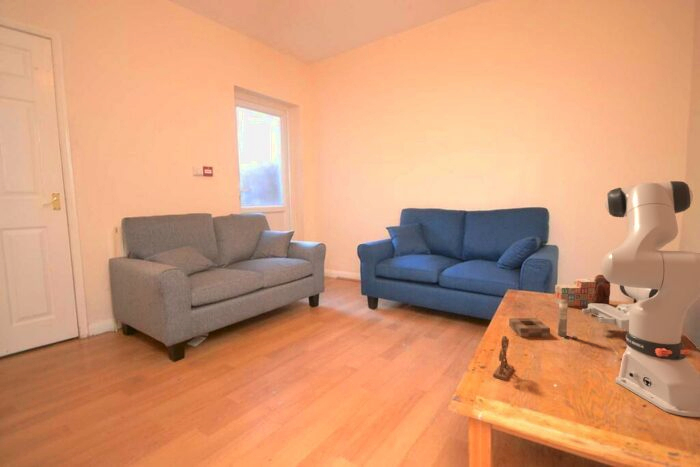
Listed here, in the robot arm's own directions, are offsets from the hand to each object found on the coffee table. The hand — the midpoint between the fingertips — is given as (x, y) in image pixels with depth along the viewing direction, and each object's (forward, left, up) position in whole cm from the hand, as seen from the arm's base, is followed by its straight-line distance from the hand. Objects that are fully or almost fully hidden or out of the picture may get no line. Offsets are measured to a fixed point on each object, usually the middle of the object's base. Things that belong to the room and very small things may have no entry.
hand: (590, 315), depth 129 cm
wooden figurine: (+24, -20, -8) cm, 32 cm away
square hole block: (+4, +21, -8) cm, 23 cm away
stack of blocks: (+38, -19, -8) cm, 43 cm away
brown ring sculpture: (-28, +44, -8) cm, 53 cm away
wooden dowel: (0, +10, -8) cm, 13 cm away
